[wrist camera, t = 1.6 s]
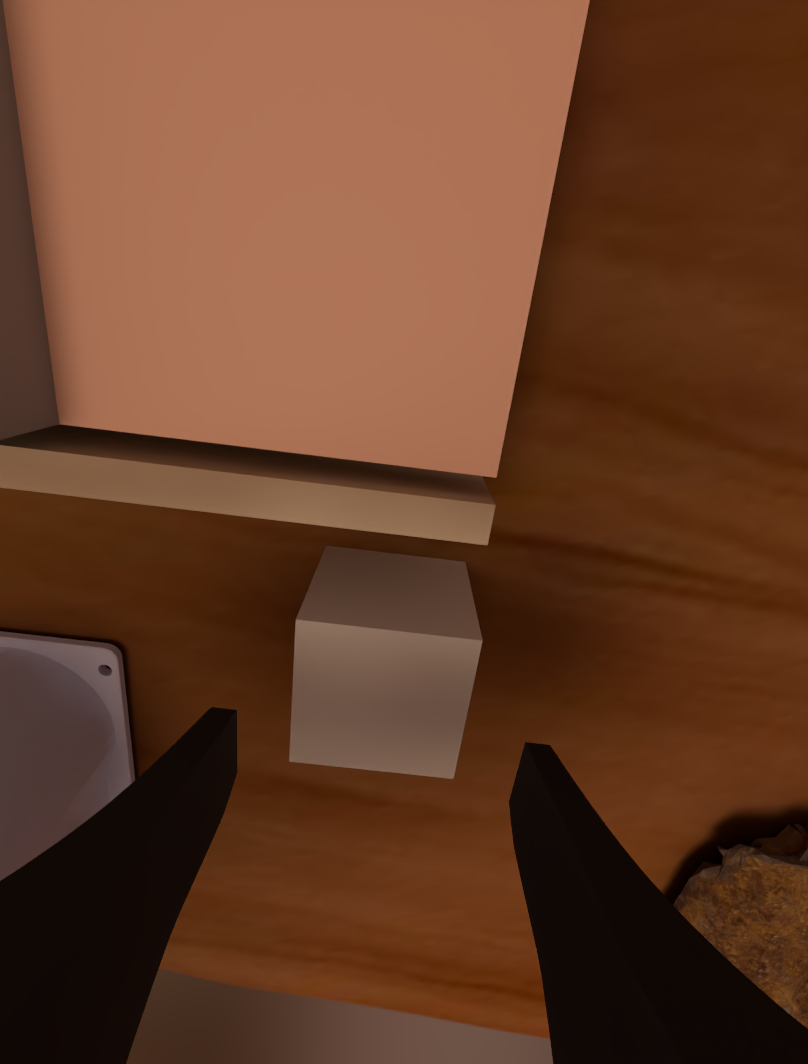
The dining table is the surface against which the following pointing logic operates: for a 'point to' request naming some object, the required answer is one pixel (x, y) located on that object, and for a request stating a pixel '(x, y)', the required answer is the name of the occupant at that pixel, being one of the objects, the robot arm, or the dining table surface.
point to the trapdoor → (278, 218)
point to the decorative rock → (758, 913)
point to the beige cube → (384, 663)
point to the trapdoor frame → (248, 482)
